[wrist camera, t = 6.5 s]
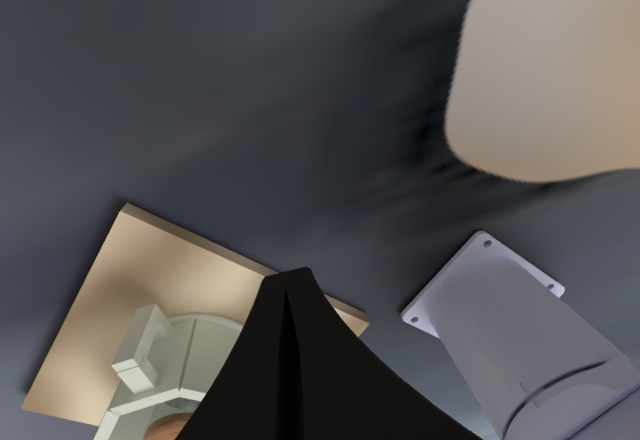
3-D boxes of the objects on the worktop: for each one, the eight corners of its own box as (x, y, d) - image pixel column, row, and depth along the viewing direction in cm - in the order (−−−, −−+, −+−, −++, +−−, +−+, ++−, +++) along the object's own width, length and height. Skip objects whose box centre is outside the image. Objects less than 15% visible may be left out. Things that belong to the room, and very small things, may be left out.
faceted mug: (285, 386, 24) (290, 463, 20) (165, 423, 24) (144, 509, 20) (227, 270, 19) (217, 338, 15) (75, 317, 19) (19, 400, 15)
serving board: (365, 313, 23) (369, 323, 23) (247, 446, 28) (247, 458, 27) (127, 202, 17) (120, 210, 17) (29, 394, 22) (20, 408, 21)
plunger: (256, 386, 23) (254, 480, 18) (175, 411, 23) (151, 512, 18) (223, 328, 20) (210, 420, 15) (131, 356, 20) (89, 458, 15)
